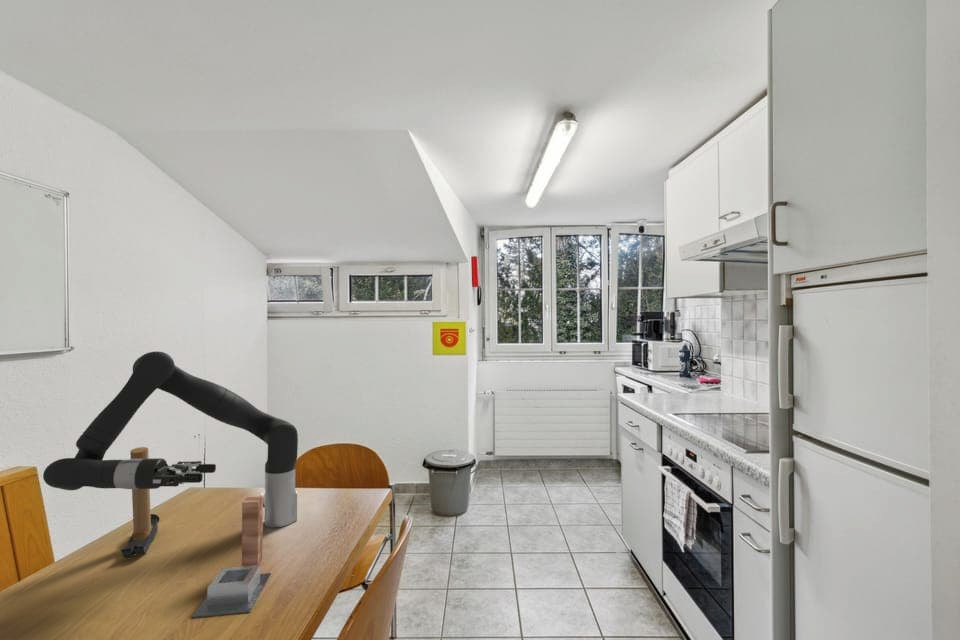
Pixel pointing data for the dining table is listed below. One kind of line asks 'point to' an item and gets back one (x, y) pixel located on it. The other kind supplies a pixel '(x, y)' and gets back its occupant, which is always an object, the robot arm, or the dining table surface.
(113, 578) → the dining table surface
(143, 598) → the dining table surface
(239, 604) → the socket base
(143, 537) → the hammer
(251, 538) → the square peg
